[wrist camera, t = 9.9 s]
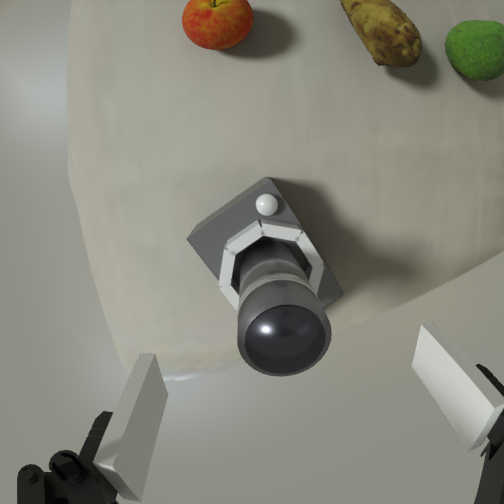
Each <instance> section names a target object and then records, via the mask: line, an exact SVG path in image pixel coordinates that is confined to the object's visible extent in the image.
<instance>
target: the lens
mask: <svg viewBox="0 0 504 504" xmlns="http://www.w3.org/2000/svg"><path fill="white" fill-rule="evenodd" d="M237 318H238V337H237V341H238V348H239V352H240V354H241V356H242V358H243V359H244V360H245V362H246V363H247V364H248V365H249V366H251V367H252V368H253V369H255V370H257V371H258V372H261V373H263V374H267V375H271V376H290V375H295V374H298V373H301V372H303V371H305V370H307V369H309V368H311V367H312V366H314V365H315V364H316V363H317V362H318V361H319V360H320V359H321V358H322V357H323V356H324V355H325V353H326V351H327V350H328V347H329V345H330V341H331V335H332V334H331V325H330V322H329V320H328V318H327V316H326V314H325V312H324V310H323V308H322V306H321V303H320V300H319V298H318V296H317V294H316V292H315V291H314V289H313V288H312V286H311V284H310V282H309V280H308V279H307V277H306V275H305V273H304V271H303V269H302V267H301V265H300V263H299V261H298V259H297V258H296V256H295V254H294V252H293V251H292V250H291V249H290V248H289V247H288V246H287V245H286V244H284V243H282V242H279V241H275V240H265V241H261V242H258V243H256V244H254V245H253V246H251V247H250V248H249V249H248V250H247V251H246V253H245V254H244V256H243V258H242V261H241V268H240V290H239V305H238V317H237Z"/></svg>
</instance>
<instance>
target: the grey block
mask: <svg viewBox="0 0 504 504" xmlns="http://www.w3.org/2000/svg"><path fill="white" fill-rule="evenodd" d="M187 240H188V242H189V243H190V244H191V246H192V247H193V248H194V250H195V251H196V252H197V254H198V255H199V256H200V257H201V259H202V260H203V261H204V263H205V264H206V265H207V267H208V268H209V269H210V270H211V272H212V273H213V274H214V275H215V277H216V278H217V279H218V281H219V284H218V285H219V286H220V288H219V289H220V290H221V292H222V293H223V294H224V295H225V297H226V298H227V299H228V300H229V302H230V303H231V304H232V305H233V307H234V308H235V309H236V310H237V311H238V305H239V290H240V268H241V261H242V258H243V256H244V254H245V253H246V251H247V250H248V249H249V248H250V247H251V246H253V245H254V244H256V243H258V242H261V241H265V240H275V241H279V242H282V243H284V244H286V245H287V246H288V247H289V248H290V249H291V250H292V251H293V252H294V254H295V256H296V258H297V259H298V261H299V263H300V265H301V267H302V269H303V271H304V273H305V275H306V277H307V279H308V280H309V282H310V284H311V286H312V288H313V289H314V291H315V292H316V294H317V296H318V298H319V300H320V303H321V306H322V308H323V307H325V306H327V305H328V304H330V303H331V302H333V301H334V300H336V299H337V298H339V297H340V296H342V295H343V294H344V292H343V291H342V289H341V287H340V286H339V284H338V282H337V281H336V279H335V277H334V276H333V274H332V273H331V271H330V269H329V268H328V266H327V264H326V263H325V261H324V260H323V258H322V257H321V255H320V253H319V252H318V250H317V249H316V247H315V245H314V244H313V242H312V241H311V239H310V238H309V236H308V235H307V233H306V231H305V230H304V228H303V227H302V225H301V224H300V222H299V221H298V219H297V218H296V216H295V215H294V213H293V212H292V210H291V209H290V207H289V206H288V204H287V203H286V201H285V200H284V198H283V197H282V195H281V194H280V192H279V191H278V189H277V188H276V186H275V185H274V183H273V182H272V181H271V179H269V178H267V177H265V178H263V179H262V180H260V181H259V182H257V183H256V184H254V185H253V186H251V187H250V188H248V189H247V190H245V191H244V192H243V193H241V194H240V195H238V196H237V197H235V198H234V199H233V200H231V201H230V202H228V203H227V204H225V205H224V206H223V207H221V208H220V209H218V210H217V211H216V212H214V213H213V214H211V215H210V216H209V217H207V218H206V219H204V220H203V221H202V222H200V223H199V224H198V225H196V227H195V228H194V229H193V231H192V232H191V233H190V235H189V236H188V238H187Z"/></svg>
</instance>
